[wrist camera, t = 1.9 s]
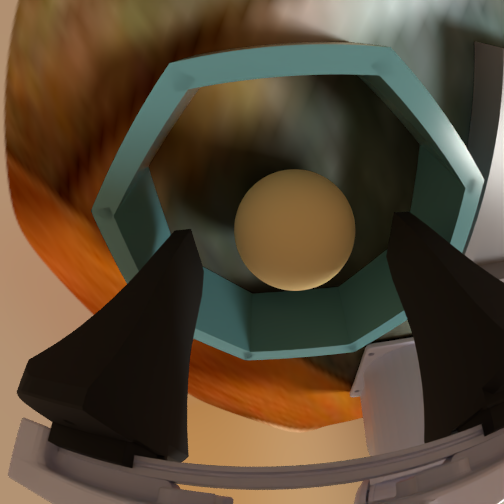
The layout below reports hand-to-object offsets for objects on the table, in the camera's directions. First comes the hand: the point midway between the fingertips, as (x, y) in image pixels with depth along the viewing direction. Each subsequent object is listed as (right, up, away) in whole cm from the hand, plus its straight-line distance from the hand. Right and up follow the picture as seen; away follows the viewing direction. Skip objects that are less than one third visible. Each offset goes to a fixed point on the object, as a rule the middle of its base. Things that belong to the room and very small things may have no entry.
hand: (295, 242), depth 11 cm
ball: (0, 0, +1) cm, 1 cm away
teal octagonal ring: (0, +2, +2) cm, 3 cm away
